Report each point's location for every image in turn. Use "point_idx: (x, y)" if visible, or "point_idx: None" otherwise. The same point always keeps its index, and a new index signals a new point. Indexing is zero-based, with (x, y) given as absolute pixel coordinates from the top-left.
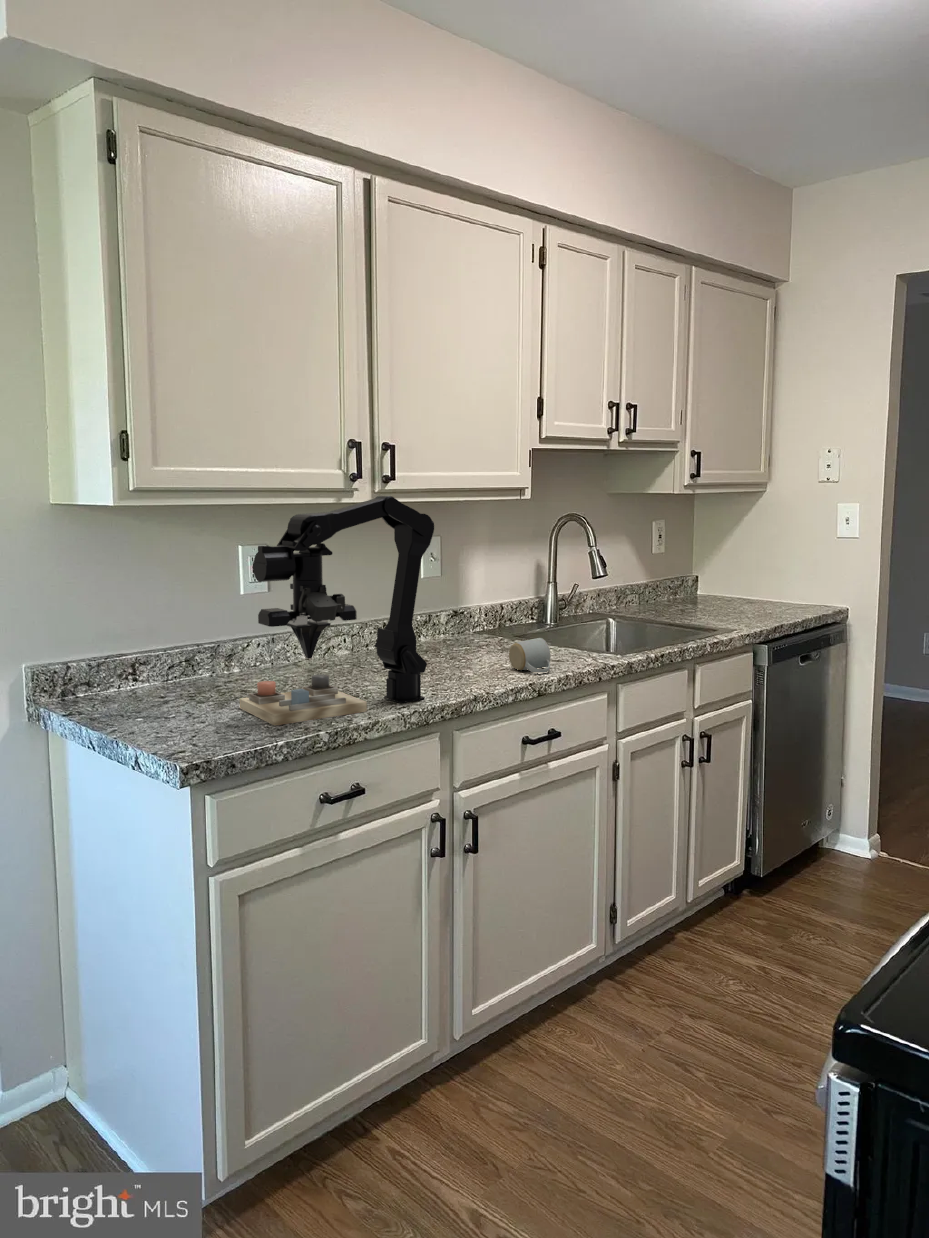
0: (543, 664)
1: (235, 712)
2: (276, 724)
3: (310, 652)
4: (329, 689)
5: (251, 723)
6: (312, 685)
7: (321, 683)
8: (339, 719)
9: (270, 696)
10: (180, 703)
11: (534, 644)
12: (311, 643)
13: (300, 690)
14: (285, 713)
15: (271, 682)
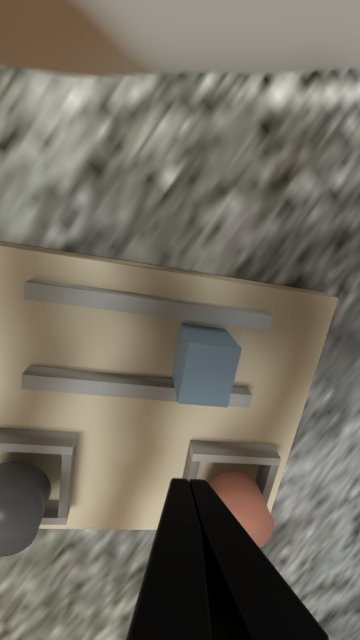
0: None
1: (288, 477)
2: (313, 290)
3: (196, 517)
4: (3, 442)
5: (339, 356)
6: (48, 497)
7: (20, 478)
8: (119, 210)
9: None
10: (313, 602)
11: None
12: (210, 632)
13: (205, 379)
14: (298, 295)
15: None
